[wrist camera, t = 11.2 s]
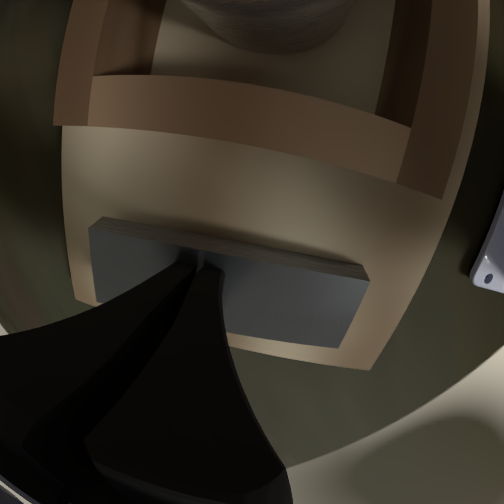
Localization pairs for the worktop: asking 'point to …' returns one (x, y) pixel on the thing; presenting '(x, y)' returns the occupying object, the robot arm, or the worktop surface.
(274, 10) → the steel peg
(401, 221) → the socket board
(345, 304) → the bar
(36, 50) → the worktop surface
